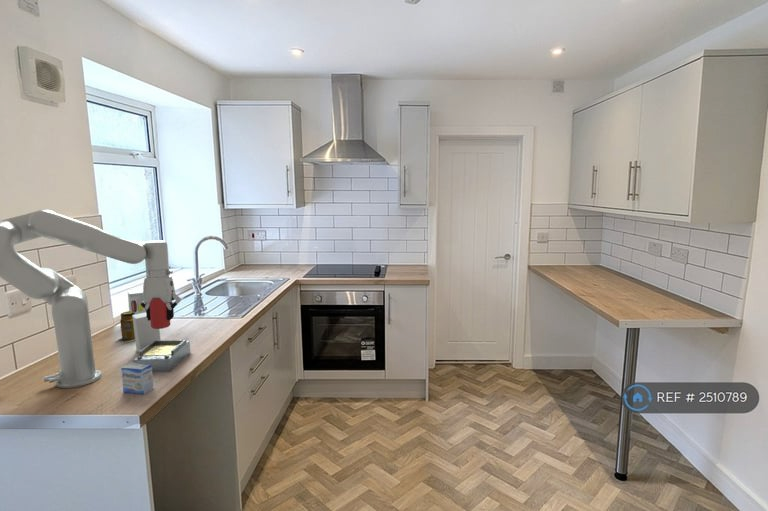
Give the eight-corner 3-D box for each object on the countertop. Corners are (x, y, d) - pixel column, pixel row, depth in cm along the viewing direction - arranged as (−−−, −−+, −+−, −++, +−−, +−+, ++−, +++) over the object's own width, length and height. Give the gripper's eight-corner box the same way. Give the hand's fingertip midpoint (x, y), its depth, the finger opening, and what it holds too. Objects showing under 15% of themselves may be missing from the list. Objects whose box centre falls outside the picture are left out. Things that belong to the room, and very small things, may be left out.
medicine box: (122, 392, 131) (120, 367, 130) (133, 386, 136) (130, 362, 134) (144, 394, 130) (141, 369, 129) (154, 388, 134) (151, 363, 133)
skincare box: (157, 345, 173) (154, 310, 170) (162, 349, 168) (159, 313, 166) (135, 350, 167) (131, 314, 165) (139, 355, 162) (135, 317, 160)
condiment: (142, 335, 185) (139, 310, 183) (131, 342, 176) (128, 316, 174) (126, 335, 184) (123, 310, 183) (114, 342, 176) (111, 316, 174)
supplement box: (131, 327, 196) (127, 294, 193) (129, 322, 203) (126, 290, 201) (153, 323, 201) (150, 291, 199) (151, 319, 209) (148, 287, 206)
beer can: (165, 323, 158) (164, 293, 157) (173, 326, 154) (172, 296, 153) (148, 327, 153) (146, 296, 152) (155, 330, 149) (153, 299, 148)
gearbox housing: (170, 371, 147) (168, 354, 146) (135, 372, 146) (133, 355, 145) (190, 352, 165) (189, 337, 164) (159, 353, 164) (157, 337, 163)
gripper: (185, 271, 155) (187, 316, 158) (138, 271, 154) (141, 316, 156) (177, 275, 148) (180, 322, 150) (128, 275, 146) (131, 322, 149)
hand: (160, 319), depth 153 cm, fingers closed on beer can, 6 cm apart
